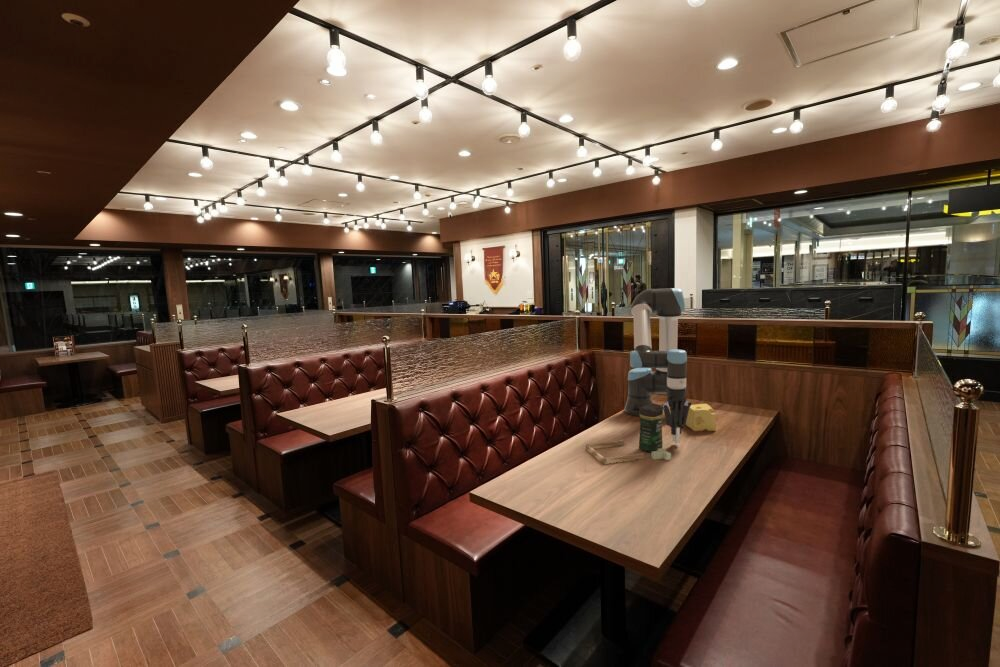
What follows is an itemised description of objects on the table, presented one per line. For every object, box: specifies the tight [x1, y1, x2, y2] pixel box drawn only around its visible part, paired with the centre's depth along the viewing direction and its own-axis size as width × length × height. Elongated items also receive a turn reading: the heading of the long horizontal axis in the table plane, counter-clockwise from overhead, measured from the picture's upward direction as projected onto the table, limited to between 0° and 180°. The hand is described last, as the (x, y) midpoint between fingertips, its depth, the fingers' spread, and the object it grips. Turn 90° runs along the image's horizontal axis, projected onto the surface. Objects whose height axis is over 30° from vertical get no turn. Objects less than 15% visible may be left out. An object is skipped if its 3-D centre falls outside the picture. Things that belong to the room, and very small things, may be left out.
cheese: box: [685, 403, 717, 432], centre depth 201 cm, size 10×11×10 cm
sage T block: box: [650, 447, 672, 461], centre depth 170 cm, size 6×6×2 cm
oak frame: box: [585, 439, 644, 465], centre depth 175 cm, size 16×17×2 cm
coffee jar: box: [638, 402, 664, 453], centre depth 178 cm, size 10×8×19 cm
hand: (676, 441), depth 182 cm, fingers closed
